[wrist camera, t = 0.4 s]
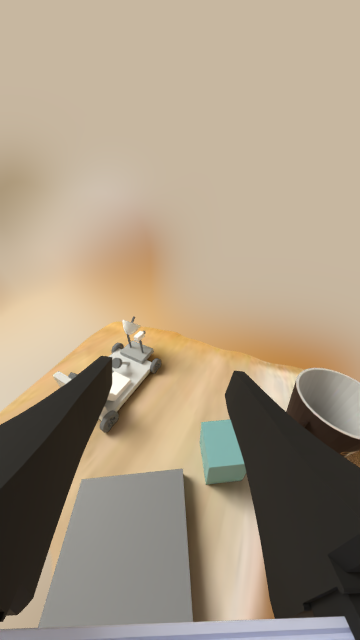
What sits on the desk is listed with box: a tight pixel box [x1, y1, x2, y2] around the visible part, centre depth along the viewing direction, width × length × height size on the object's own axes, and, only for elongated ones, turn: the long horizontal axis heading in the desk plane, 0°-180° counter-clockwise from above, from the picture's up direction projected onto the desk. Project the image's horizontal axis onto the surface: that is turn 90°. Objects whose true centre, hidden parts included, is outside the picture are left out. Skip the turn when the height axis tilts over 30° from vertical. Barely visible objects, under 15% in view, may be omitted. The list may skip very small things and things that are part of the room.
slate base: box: [38, 469, 193, 628], centre depth 17 cm, size 12×12×2 cm
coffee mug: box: [286, 368, 360, 457], centre depth 22 cm, size 12×9×10 cm
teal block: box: [200, 420, 246, 485], centre depth 22 cm, size 4×4×6 cm
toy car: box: [53, 317, 161, 432], centre depth 33 cm, size 18×10×12 cm
